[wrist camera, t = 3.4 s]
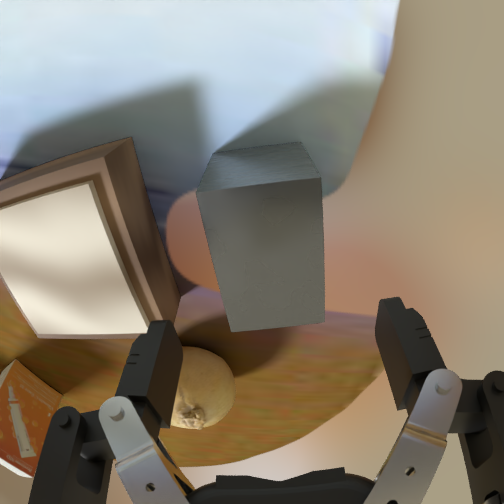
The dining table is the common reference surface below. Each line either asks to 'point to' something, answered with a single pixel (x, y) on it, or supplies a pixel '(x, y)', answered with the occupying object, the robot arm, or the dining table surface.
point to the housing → (265, 235)
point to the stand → (85, 247)
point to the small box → (24, 418)
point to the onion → (202, 390)
